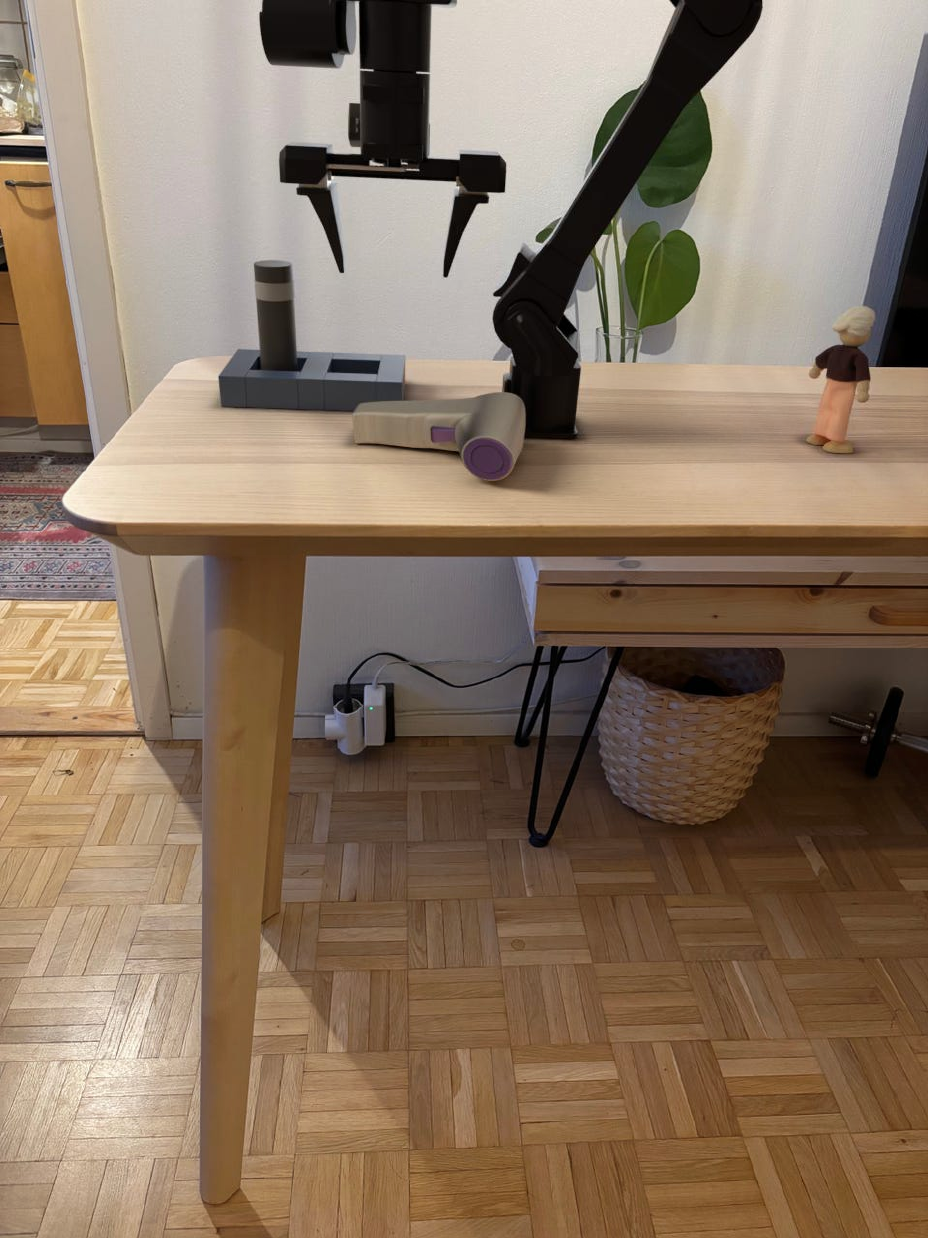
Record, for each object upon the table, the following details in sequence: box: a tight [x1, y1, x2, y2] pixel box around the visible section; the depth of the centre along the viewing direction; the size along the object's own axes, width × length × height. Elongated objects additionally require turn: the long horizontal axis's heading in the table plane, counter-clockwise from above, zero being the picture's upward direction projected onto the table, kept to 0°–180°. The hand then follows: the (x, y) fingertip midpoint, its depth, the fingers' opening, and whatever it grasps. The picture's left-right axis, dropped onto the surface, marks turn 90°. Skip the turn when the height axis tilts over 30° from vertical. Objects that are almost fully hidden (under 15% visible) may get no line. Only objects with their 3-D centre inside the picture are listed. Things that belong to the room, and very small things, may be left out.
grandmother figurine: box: [806, 305, 876, 454], centre depth 84 cm, size 8×4×13 cm, turn 31°
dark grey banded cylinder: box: [253, 259, 298, 372], centre depth 91 cm, size 4×4×12 cm
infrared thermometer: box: [351, 391, 526, 482], centre depth 79 cm, size 5×12×15 cm
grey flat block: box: [218, 348, 406, 412], centre depth 93 cm, size 18×10×3 cm, turn 91°
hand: (393, 274), depth 83 cm, fingers open, 9 cm apart
